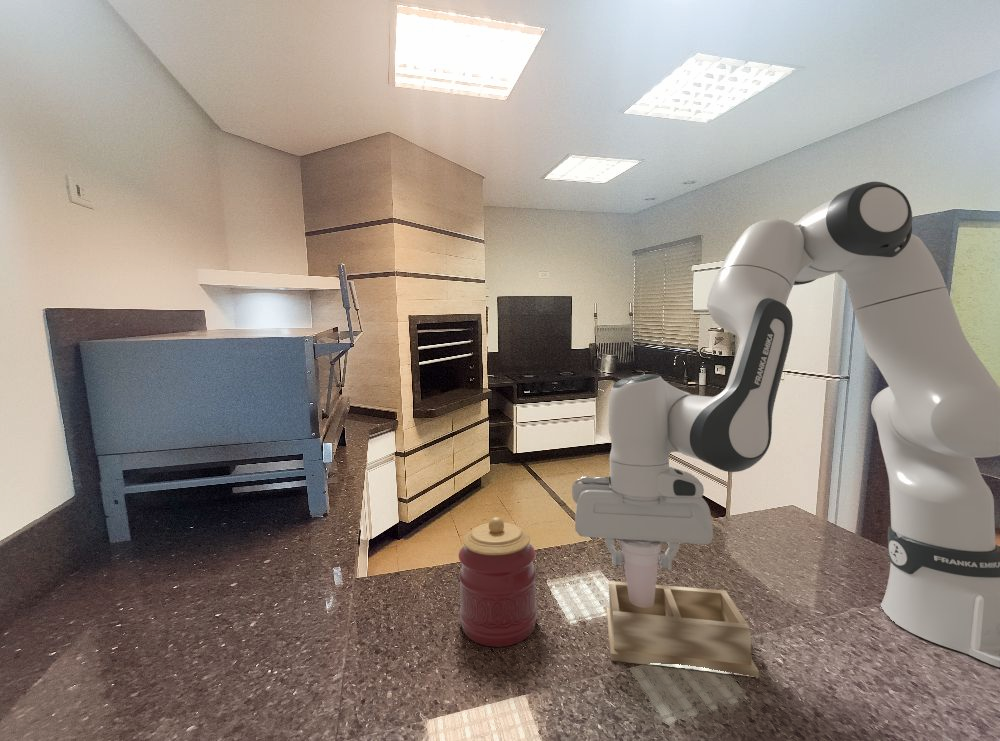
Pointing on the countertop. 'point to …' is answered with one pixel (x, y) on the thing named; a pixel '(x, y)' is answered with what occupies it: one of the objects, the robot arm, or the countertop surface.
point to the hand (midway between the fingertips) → (641, 566)
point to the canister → (497, 584)
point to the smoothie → (641, 570)
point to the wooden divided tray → (680, 629)
